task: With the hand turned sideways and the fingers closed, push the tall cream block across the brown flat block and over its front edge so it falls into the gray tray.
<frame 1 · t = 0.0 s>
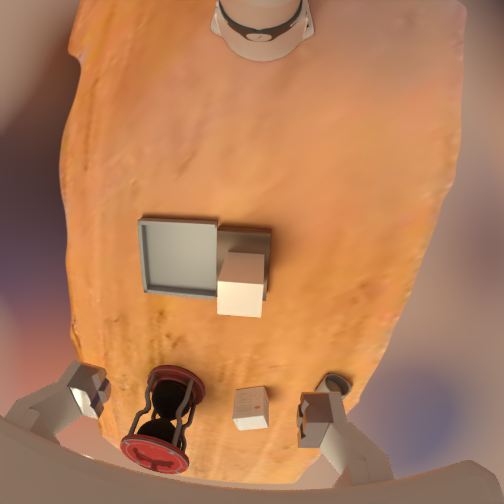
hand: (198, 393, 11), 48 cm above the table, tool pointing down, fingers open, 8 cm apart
cream block: (244, 267, 58), point 3 cm above the table, touching brown flat block
ceramic mug: (332, 383, 74), on the table
brown flat block: (243, 261, 61), on the table
hourglass: (176, 385, 76), on the table
small box: (252, 393, 76), on the table
gray tray: (179, 256, 62), on the table
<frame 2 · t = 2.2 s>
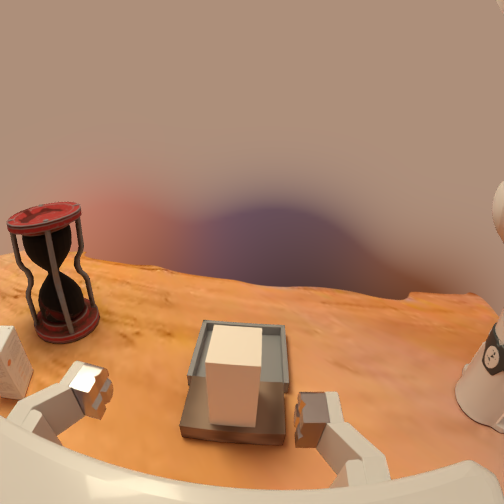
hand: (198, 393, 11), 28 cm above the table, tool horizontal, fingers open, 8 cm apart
cream block: (234, 406, 39), point 3 cm above the table, touching brown flat block
brown flat block: (234, 416, 40), on the table
hourglass: (67, 322, 57), on the table
small box: (18, 385, 37), on the table
gray tray: (240, 358, 52), on the table
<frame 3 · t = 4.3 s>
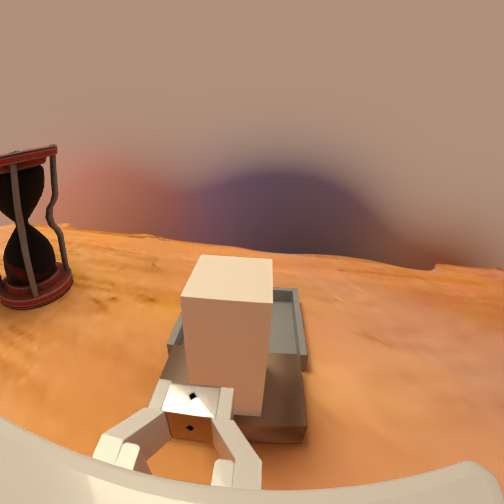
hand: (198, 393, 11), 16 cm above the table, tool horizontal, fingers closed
cream block: (230, 386, 27), point 3 cm above the table, touching brown flat block
brown flat block: (230, 401, 29), on the table
hourglass: (36, 288, 46), on the table
gray tray: (241, 328, 41), on the table
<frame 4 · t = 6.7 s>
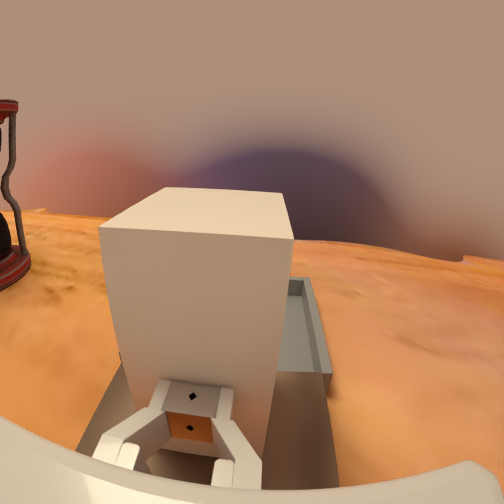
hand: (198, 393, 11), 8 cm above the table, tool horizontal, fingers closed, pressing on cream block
cream block: (212, 408, 16), point 3 cm above the table, touching gripper, brown flat block
brown flat block: (212, 447, 16), on the table
gray tray: (232, 331, 29), on the table
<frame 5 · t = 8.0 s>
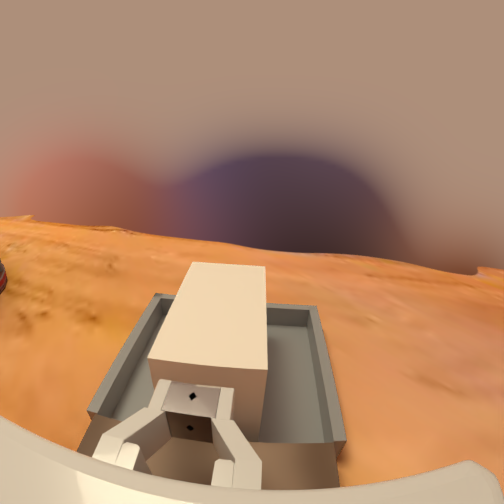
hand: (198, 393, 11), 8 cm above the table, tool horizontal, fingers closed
cream block: (208, 408, 15), point 4 cm above the table, tilted 90°, touching gray tray
gray tray: (224, 375, 23), on the table
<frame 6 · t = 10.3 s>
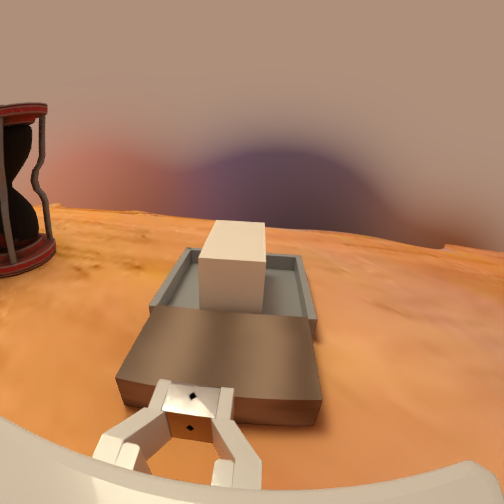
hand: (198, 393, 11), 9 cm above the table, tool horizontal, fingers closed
cream block: (230, 294, 28), point 4 cm above the table, tilted 90°, touching gray tray
brown flat block: (223, 373, 24), on the table
hourglass: (16, 258, 40), on the table
gray tray: (237, 295, 36), on the table
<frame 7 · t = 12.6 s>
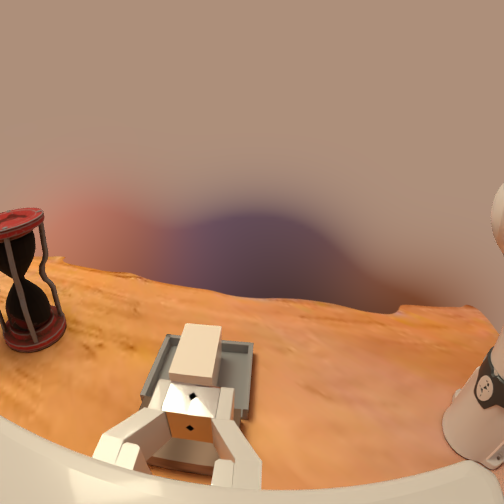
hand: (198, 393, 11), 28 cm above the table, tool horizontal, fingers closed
cream block: (191, 391, 39), point 4 cm above the table, tilted 90°, touching gray tray
brown flat block: (186, 441, 35), on the table
hourglass: (35, 330, 52), on the table
gray tray: (202, 378, 47), on the table
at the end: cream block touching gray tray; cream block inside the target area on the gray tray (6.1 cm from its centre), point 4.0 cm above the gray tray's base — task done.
